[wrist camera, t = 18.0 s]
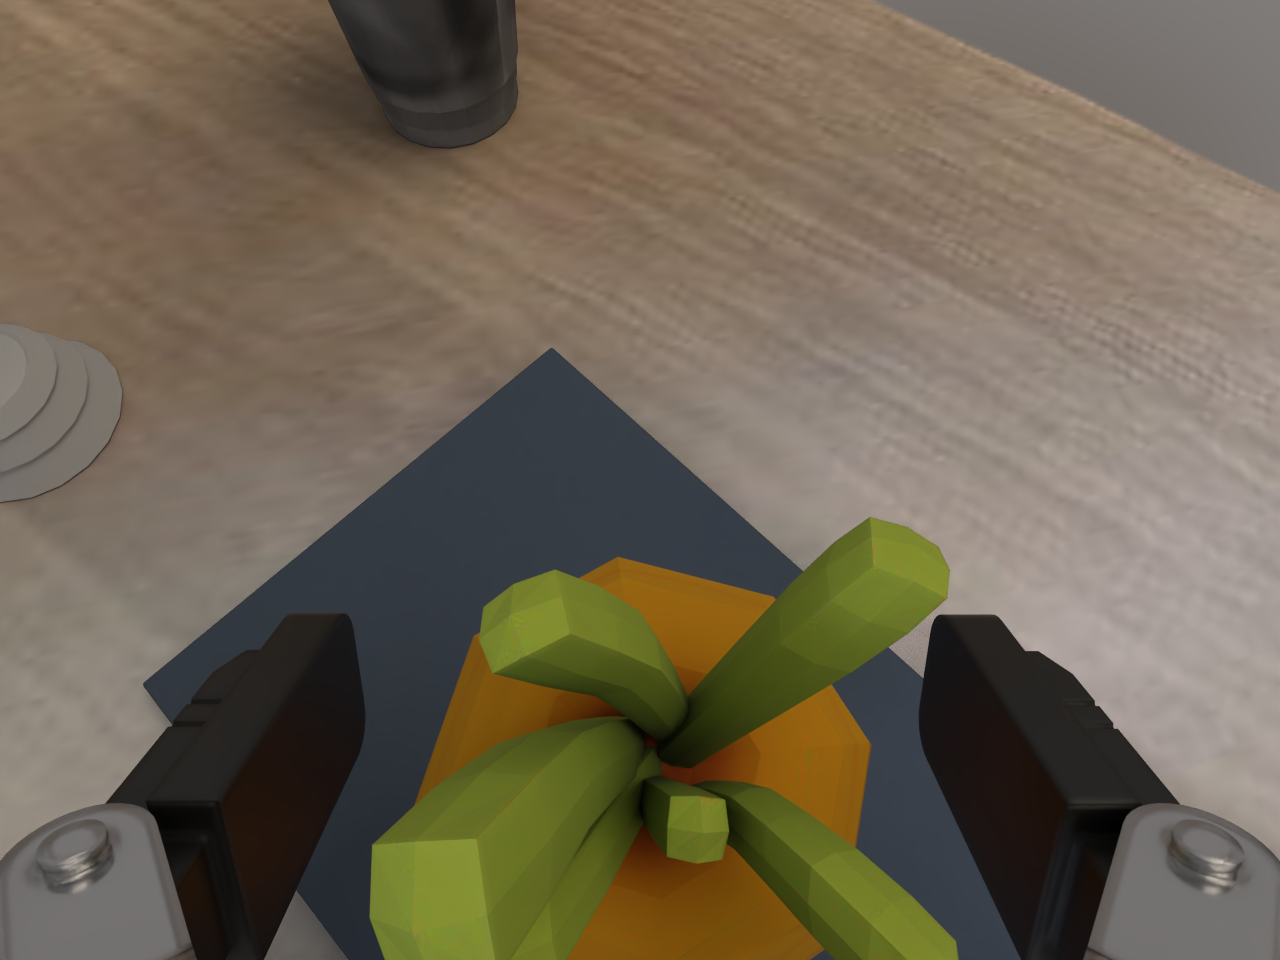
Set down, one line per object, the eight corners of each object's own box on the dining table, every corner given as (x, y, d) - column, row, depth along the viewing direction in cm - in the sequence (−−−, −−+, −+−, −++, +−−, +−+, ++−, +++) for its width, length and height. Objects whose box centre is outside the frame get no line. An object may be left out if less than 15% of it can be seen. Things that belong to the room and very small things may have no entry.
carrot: (735, 678, 19) (967, 286, 6) (777, 917, 17) (1296, 1233, 4) (522, 707, 19) (208, 371, 5) (540, 951, 17) (116, 1440, 3)
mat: (158, 689, 20) (140, 683, 19) (554, 360, 24) (551, 345, 23) (784, 1516, 14) (791, 1553, 14) (1177, 920, 18) (1199, 924, 17)
